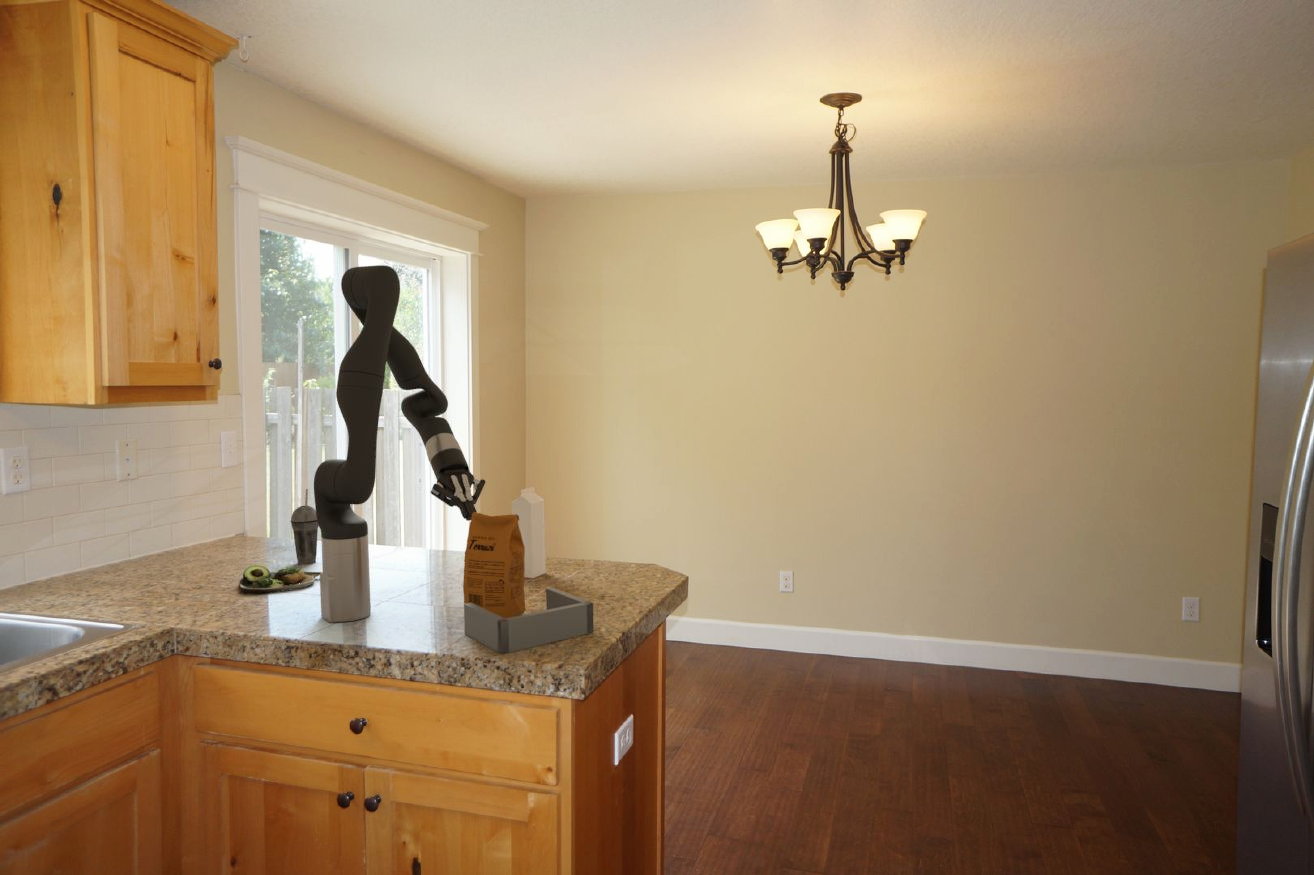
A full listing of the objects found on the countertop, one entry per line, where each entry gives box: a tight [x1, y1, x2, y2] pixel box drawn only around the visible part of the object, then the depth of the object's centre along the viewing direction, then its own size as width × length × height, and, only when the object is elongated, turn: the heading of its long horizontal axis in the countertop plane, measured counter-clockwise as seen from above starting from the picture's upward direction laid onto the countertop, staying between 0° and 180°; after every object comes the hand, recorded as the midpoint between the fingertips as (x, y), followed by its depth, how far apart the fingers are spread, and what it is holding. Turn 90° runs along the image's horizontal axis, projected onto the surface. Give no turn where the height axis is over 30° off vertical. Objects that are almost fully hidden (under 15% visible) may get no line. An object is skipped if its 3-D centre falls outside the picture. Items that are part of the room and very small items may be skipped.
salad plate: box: [238, 564, 321, 595], centre depth 209 cm, size 19×18×5 cm
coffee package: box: [462, 512, 526, 618], centre depth 179 cm, size 10×12×22 cm
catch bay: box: [463, 587, 594, 655], centre depth 168 cm, size 20×16×6 cm
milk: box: [510, 486, 547, 579], centre depth 215 cm, size 6×6×22 cm
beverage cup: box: [290, 488, 319, 565], centre depth 231 cm, size 7×7×20 cm
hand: (471, 518), depth 186 cm, fingers closed
